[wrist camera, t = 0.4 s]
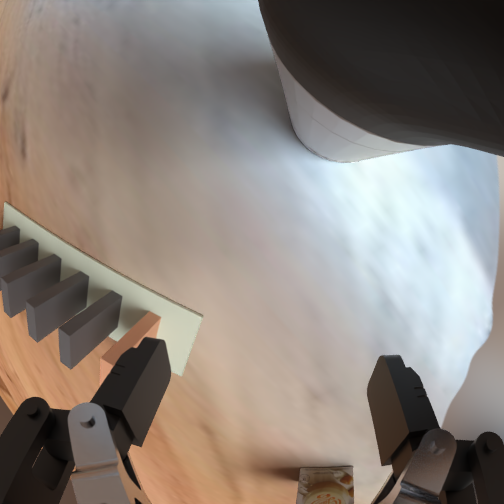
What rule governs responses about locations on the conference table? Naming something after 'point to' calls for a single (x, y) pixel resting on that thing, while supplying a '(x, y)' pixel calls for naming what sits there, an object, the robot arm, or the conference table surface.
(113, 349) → the domino
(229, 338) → the conference table surface
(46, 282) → the domino
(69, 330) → the domino
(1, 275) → the domino
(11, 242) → the domino
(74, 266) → the strip
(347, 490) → the coffee box
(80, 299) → the domino
